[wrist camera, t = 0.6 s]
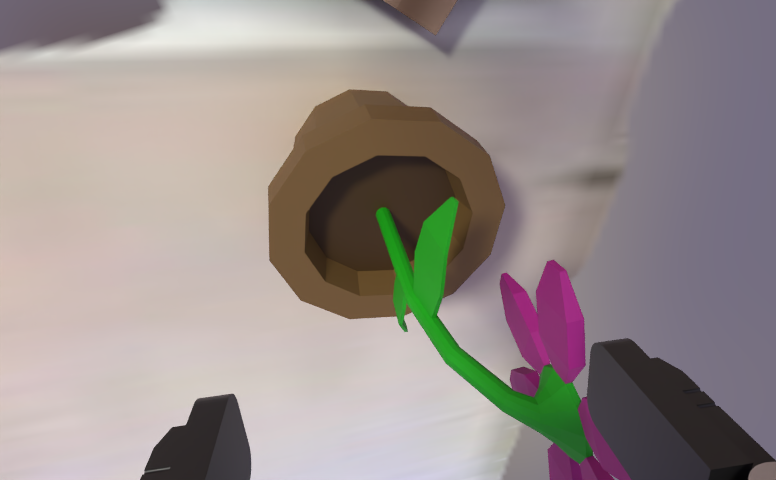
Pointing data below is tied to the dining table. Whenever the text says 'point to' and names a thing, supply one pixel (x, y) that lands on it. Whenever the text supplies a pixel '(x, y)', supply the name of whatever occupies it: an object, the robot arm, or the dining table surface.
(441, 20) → the framed panel with rod
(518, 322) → the flowerpot
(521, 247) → the dining table surface
